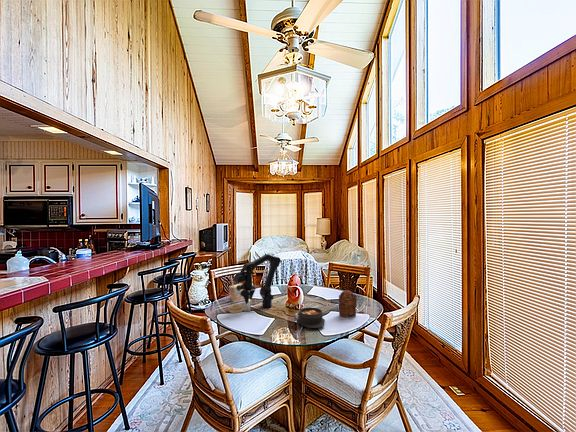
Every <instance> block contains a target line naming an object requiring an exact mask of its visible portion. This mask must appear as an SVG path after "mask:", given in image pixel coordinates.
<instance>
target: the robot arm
mask: <svg viewBox="0 0 576 432" xmlns="http://www.w3.org/2000/svg"><path fill="white" fill-rule="evenodd" d="M267 261H269V269H268V272H267V275H266V279H265V283H264V285H263V286H260V288H259V294H260V295H259V296H260V297H261V299H262V301H261V302H262V303H261V304H262V308H265V309H266V308H267V309H271V308H272V307H273V300H274V295H273V294H272V284H273V279H274V277H275V274H276V270H277V268H278V267H279V266H280V264H281V261H282V260H281V258H280V257H279V256H273V255H270V254H269V253H267V254H266V253H265V254H264V255H262V256H260V257H258V258H257V259H255V260H253V261H249V262H246V263H244V264H243V265H242V268H241V270H240V272H236V273H235V275H234V277H233V278H234V279H233V280H234V282H235V284H240V283H241V284H242V285H238V286H237V290H238V291H239V290H242V289H243V291H241V292H240V295H241V296H243V297H244V299H243V300H244V302H245V304H246V305H247V303H248V300H249V299H250V301H252V299H253V297H254V294H255V292H256V290H257V286H256V285H254V284H253V283H254V281H253V275H255V272H254V270H255V269H256V268H257V267H258V266H260V265H262V264H264V263H265V262H267Z"/></svg>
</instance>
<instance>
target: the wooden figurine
mask: <svg viewBox="0 0 576 432" xmlns="http://www.w3.org/2000/svg"><path fill="white" fill-rule="evenodd" d="M338 303H339V304H338V312H339V313H338V314H339V316H340V317H342V318H345V319H347V318H353V317H354V318H355V317H356V316H357V310H356V309H357V295H356V294H354V293H353V292H352V291H351V290H349V289H345V290H343V291H341V292H340V294H339V295H338Z"/></svg>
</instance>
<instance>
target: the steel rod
mask: <svg viewBox="0 0 576 432" xmlns="http://www.w3.org/2000/svg"><path fill="white" fill-rule="evenodd" d="M251 310H252V309H251V300H250V298H249V300H248V303H247V304H246V312H247V313H251V312H252V311H251Z"/></svg>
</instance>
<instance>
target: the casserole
mask: <svg viewBox="0 0 576 432" xmlns="http://www.w3.org/2000/svg"><path fill="white" fill-rule="evenodd" d="M324 315H325V314H324V312H323V311H322V309H320V308H317V307H303V308H301V309H299V310H298V312H297V318H296V323H297V324H299V325H301V326H304V327H305V328H307V329H318V328H322V327H325V323H326V320H325V319H324V318H323V317H324Z"/></svg>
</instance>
